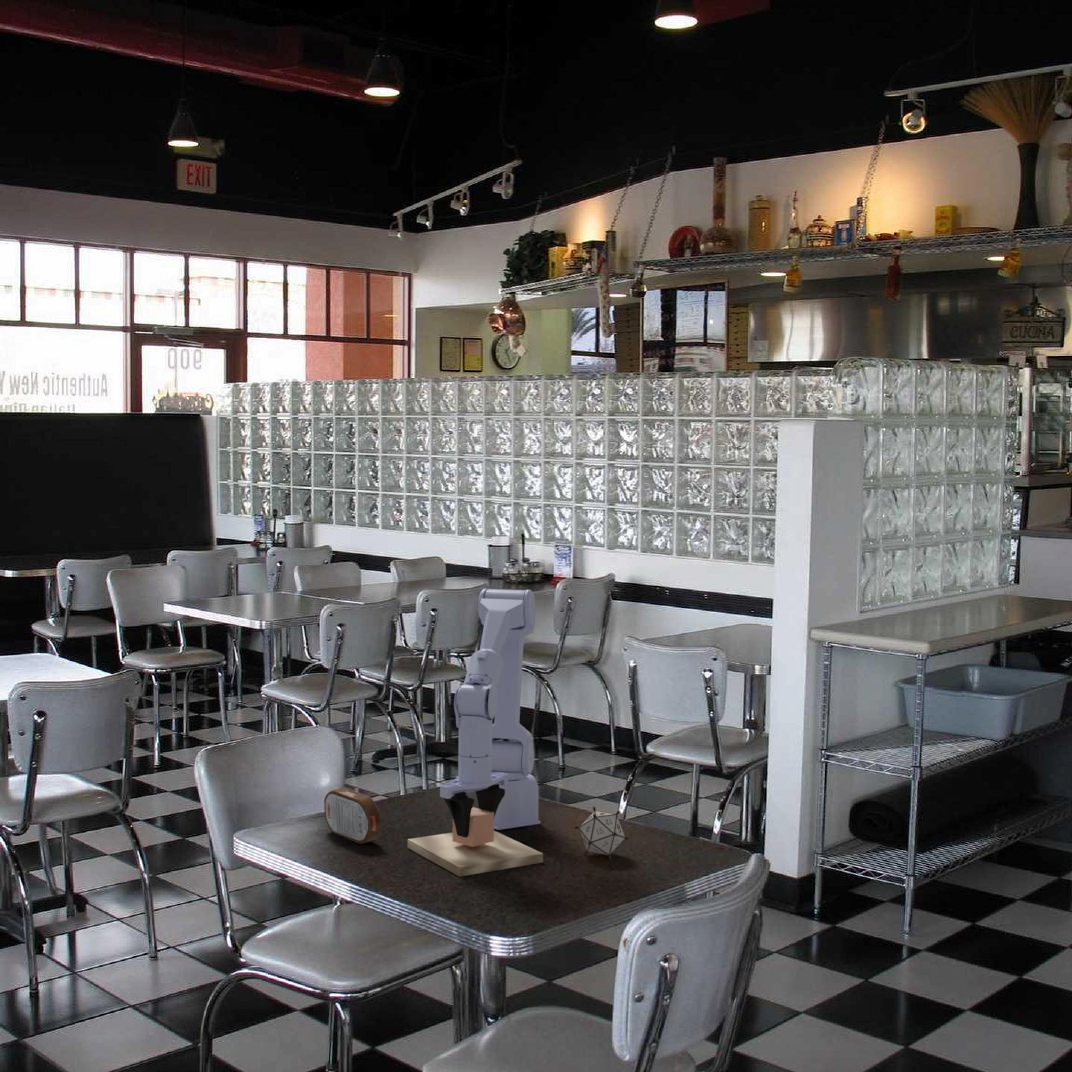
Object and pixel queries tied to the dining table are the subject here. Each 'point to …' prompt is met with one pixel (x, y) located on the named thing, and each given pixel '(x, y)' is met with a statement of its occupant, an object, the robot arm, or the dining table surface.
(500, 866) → the maple board
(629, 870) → the dining table surface
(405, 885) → the dining table surface
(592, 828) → the game die
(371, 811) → the tin
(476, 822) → the terracotta cube
